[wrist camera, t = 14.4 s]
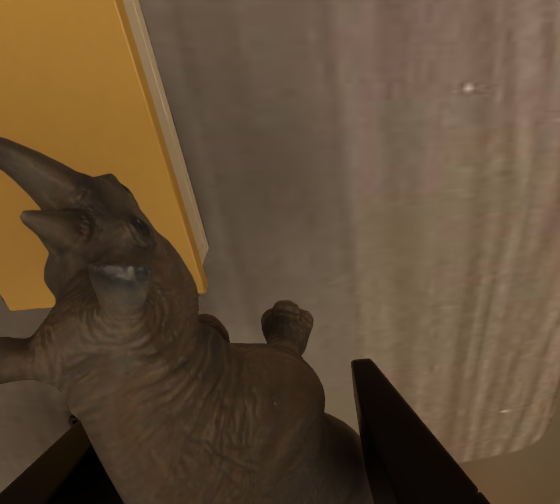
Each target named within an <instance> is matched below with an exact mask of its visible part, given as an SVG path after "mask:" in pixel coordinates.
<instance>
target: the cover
mask: <svg viewBox="0 0 560 504" xmlns="http://www.w3.org/2000/svg"><path fill="white" fill-rule="evenodd" d="M0 137H3V138H6V139H9V140H11V141H14V142H16V143H19V144H21V145H24V146H26V147H28V148H31V149H33V150H35V151H38V152H40V153H42V154H44V155H46V156H48V157H50V158H52V159H54V160H56V161H58V162H60V163H63V164H64V165H66V166H68V167H70V168H71V169H73V170H75V171H77V172H80V173H84V174H87V175H89V176H92V177H96V176H100V175H104V174H109V173H111V174H113V175H114V176H116V178H117V179H118V180H119V182H120V183H121V184H123V185H124V186H126V187H127V188H128V189H129V190H130V191H131V192H132V194H133V196H134V198H135V200H136V201H137V203H138V205H139V207H140V209H141V211H142V212H143V213H144V214H145V215H146V217H147V218H148V220H149V221H150V222H151V224H152V225H153V227H154V228H155V229H156V231H157V232H158V233H160V234H161V235H162V236H163V237H165V238H166V239H167V240H168V241H169V242H170V243H171V244H172V245H173V247H174V248H175V249H176V251H177V252H178V253H179V254H180V256H181V258H182V259H183V261H184V263H185V265H186V266H187V268H188V269H189V271H190V273H191V274H192V276H193V279H194V281H195V283H196V286H197V291H198V294H201V293H205V292H206V290H207V288H208V282H207V279H206V275H205V272H204V269H203V266H202V262H201V259H200V256H199V252H198V249H197V246H196V242H195V239H194V236H193V232H192V229H191V226H190V222H189V219H188V216H187V212H186V209H185V206H184V202H183V199H182V196H181V192H180V189H179V186H178V183H177V179H176V176H175V173H174V169H173V166H172V163H171V159H170V156H169V153H168V149H167V146H166V143H165V139H164V136H163V133H162V129H161V126H160V123H159V119H158V116H157V113H156V109H155V106H154V103H153V99H152V96H151V93H150V90H149V86H148V83H147V80H146V76H145V73H144V70H143V66H142V63H141V60H140V56H139V53H138V50H137V46H136V43H135V40H134V36H133V33H132V30H131V26H130V23H129V20H128V16H127V13H126V10H125V7H124V3H123V0H0ZM26 210H41V209H40V207H39V206H38V205H37V204H36V203H35V202H34V200H33V199H32V198H31V197H30V196H29V195H28V194H27V193H26V192H25V191H24V190H23V189H22V188H21V187H20V186H19V185H18V184H17V183H16V182H15V181H14V180H13V179H12V178H10V177H9V176H8V175H7V174H6V173H5V172H3V171H2V170H0V294H1V296H2V297H3V299H4V301H5V302H6V304H7V306H8V307H9V309H10V310H11V311H17V310H28V309H39V308H49V307H54V305H55V304H56V302H55V297H54V295H53V294H52V293H51V291H50V290H49V288H48V287H47V285H46V283H45V282H44V267H45V264H46V261H47V258H48V255H49V252H48V250H47V249H46V248H45V246H44V245H43V243H42V242H41V240H40V239H39V237H38V236H37V235H36V234H35V233H34V232H33V231H32V230H30V229H29V228H28V227H27V226H25V225H24V224H23V223H22V221H21V219H20V215H21V214H22V212H23V211H26Z"/></svg>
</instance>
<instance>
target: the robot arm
mask: <svg viewBox="0 0 560 504" xmlns="http://www.w3.org/2000/svg"><path fill="white" fill-rule="evenodd" d="M351 368H352V379H353V389H354V397H355V404H356V411H357V418H358V425H359V432H360V439H361V446H362V453H363V459H364V465H365V470H366V474H367V478H368V482H369V486H370V490H371V493H372V497H373V501H374V504H490V503H489V501H488V500H487V499H486V498H485V497H484V495H483V494H482V493H481V492H478V488H477V487H476V486H475V485H474V483H473V482H472V481H471V480H470V479H469V477H468V476H467V475H466V474H465V473H464V471H463V470H462V469H461V468H460V466H459V465H458V464H457V463H456V462H455V460H454V459H453V458H452V457H451V455H450V454H449V453H448V452H447V451H446V449H445V448H444V447H443V446H442V445H441V443H440V442H439V441H438V440H437V439H436V437H435V436H434V435H433V434H432V432H431V431H430V430H429V429H428V428H427V426H426V425H425V424H424V423H423V422H422V420H421V419H420V418H419V417H418V415H417V414H416V413H415V412H414V411H413V409H412V408H411V407H410V406H409V405H408V403H407V402H406V401H405V400H404V399H403V397H402V396H401V395H400V394H399V392H398V391H397V390H396V389H395V388H394V386H393V385H392V384H391V383H390V382H389V380H388V379H387V378H386V377H385V376H384V374H383V373H382V372H381V371H380V369H379V368H378V367H377V366H376V365H375V363H374V362H373V361H372V360H371V359H357V360H353V361H352V362H351ZM68 422H69V424H70V426H71V428H70V429H69V430H68V431H67V432H66V433H65V434H64V435H63V436H62V437H61V438H59V439H58V440H57V441H56V442H55V443H54V444H53V445H52V446H51V447H50V448H49V449H48V450H47V451H45V452H44V453H43V454H42V455H41V456H40V457H39V458H38V459H37V460H36V461H35V462H34V463H33V464H32V465H30V466H29V467H28V468H27V469H26V470H25V471H24V472H23V473H22V474H21V475H20V476H19V477H18V478H16V479H15V480H14V481H13V482H12V483H11V484H10V485H9V486H8V487H7V488H6V489H5V490H4V491H2V492H1V493H0V504H124V502H123V501H122V499H121V497H120V495H119V494H118V492H117V490H116V488H115V487H114V485H113V483H112V481H111V480H110V478H109V476H108V474H107V472H106V471H105V469H104V467H103V465H102V463H101V461H100V459H99V458H98V456H97V454H96V452H95V450H94V448H93V446H92V444H91V442H90V440H89V437H88V435H87V433H86V431H85V429H84V427H83V425H82V423H81V421H80V420H79V419H78V418H77V417H75V416H74V415H73V414H72V415H71V417H70V418H69V421H68Z"/></svg>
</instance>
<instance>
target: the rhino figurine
mask: <svg viewBox="0 0 560 504" xmlns="http://www.w3.org/2000/svg"><path fill="white" fill-rule="evenodd" d="M0 170H2V171H3V172H5V173H6V174H7V175H8V176H9V177H10V178H12V179H13V180H14V181H15V182H16V183H17V184H18V185H19V186H20V187H21V188H22V189H23V190H24V191H25V192H26V193H27V194H28V195H29V196H30V197H31V198H32V199H33V200H34V202H35V203H36V204H37V205H38V206H39V207H40V209H41V210H26V211H23V212H22V214H21V215H20V219H21V221H22V223H23V224H24V225H25V226H27V227H28V228H29V229H30V230H32V231H33V232H34V233H35V234H36V235H37V236H38V237H39V239H40V240H41V242H42V243H43V245H44V246H45V248H46V249H47V250H48V252H49V255H48V258H47V261H46V264H45V267H44V282H45V283H46V285H47V287H48V288H49V290H50V291H51V293H52V294H53V295H54V297H55V302H56V304H55V305H54V307H53V308H52V310H51V312H50V313H49V315H48V316H47V318H46V319H45V320H44V322H43V323H42V324H41V326H40V327H39V328H38V330H37V331H36V332H35V333H34V335H32V336H31V337H29V338H26V339H20V338H10V337H0V384H3V383H8V382H14V381H20V380H37V381H41V382H44V383H47V384H50V385H52V386H54V387H55V388H57V389H58V390H59V391H60V392H61V393H62V394H63V396H64V397H65V400H66V403H67V405H68V408H69V410H70V412H71V413H72V414H73V415H74V416H75V417H77V418H78V419H79V420H80V421H81V423H82V425H83V427H84V429H85V431H86V433H87V435H88V437H89V440H90V442H91V444H92V446H93V448H94V450H95V452H96V454H97V456H98V458H99V459H100V461H101V463H102V465H103V467H104V469H105V471H106V472H107V474H108V476H109V478H110V480H111V481H112V483H113V485H114V487H115V488H116V490H117V492H118V494H119V495H120V497H121V499H122V501H123V502H124V504H374V501H373V497H372V493H371V490H370V486H369V482H368V478H367V474H366V470H365V465H364V459H363V453H362V446H361V439H360V436H359V435H358V434H357V433H356V432H355V431H354V430H353V429H352V428H351V427H350V426H348V425H347V424H346V423H345V422H343V421H341V420H339V419H337V418H335V417H333V416H332V415H330V414H327V413H325V412H324V409H325V395H324V389H323V386H322V384H321V382H320V380H319V378H318V376H317V374H316V373H315V371H314V370H313V369H312V368H311V366H310V365H309V364H308V363H307V362H306V361H305V360H303V358H302V356H301V355H302V354H303V353H304V351H305V349H306V345H307V342H308V339H309V335H310V333H311V330H312V327H313V317H312V315H311V313H309V312H308V311H305V310H302V309H300V308H299V307H298V305H296V304H295V303H293V302H291V301H288V300H283V301H278V302H276V303H275V305H274V307H273V308H271V309H269V310H267V311H266V312H265V313H264V314H263V316H262V318H261V324H262V331H263V334H264V337H265V339H266V341H267V344H245V343H230V340H229V335H228V332H227V330H226V328H225V327H224V326H223V324H222V323H221V322H220V321H219V320H218V319H217V318H216V317H215V316H212V315H209V314H200V315H198V307H199V305H198V291H197V286H196V283H195V281H194V279H193V276H192V274H191V273H190V271H189V269H188V268H187V266H186V265H185V263H184V261H183V259H182V258H181V256H180V254H179V253H178V252H177V251H176V249H175V248H174V247H173V245H172V244H171V243H170V242H169V241H168V240H167V239H166V238H165V237H163V236H162V235H161V234H160V233H158V232H157V231H156V229H155V228H154V227H153V225H152V224H151V222H150V221H149V220H148V218H147V217H146V215H145V214H144V213H143V212H142V211H141V209H140V207H139V205H138V203H137V201H136V200H135V198H134V196H133V194H132V192H131V191H130V190H129V189H128V188H127V187H126V186H124V185H123V184H121V183H120V182H119V180H118V179H117V178H116V176H114V175H113V174H111V173H109V174H104V175H100V176H96V177H92V176H89V175H87V174H84V173H80V172H77V171H75V170H73V169H71V168H70V167H68V166H66V165H64V164H63V163H60V162H58V161H56V160H54V159H52V158H50V157H48V156H46V155H44V154H42V153H40V152H38V151H35V150H33V149H31V148H28V147H26V146H24V145H21V144H19V143H16V142H14V141H11V140H9V139H6V138H3V137H0Z"/></svg>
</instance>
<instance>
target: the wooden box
mask: <svg viewBox="0 0 560 504" xmlns="http://www.w3.org/2000/svg"><path fill="white" fill-rule="evenodd" d="M123 3H124V7H125V10H126V13H127V16H128V20H129V23H130V26H131V30H132V33H133V36H134V40H135V43H136V46H137V50H138V53H139V56H140V60H141V63H142V66H143V70H144V73H145V76H146V80H147V83H148V86H149V90H150V93H151V96H152V99H153V103H154V106H155V109H156V113H157V116H158V119H159V123H160V126H161V129H162V133H163V136H164V139H165V143H166V146H167V149H168V153H169V156H170V159H171V163H172V166H173V169H174V173H175V176H176V179H177V183H178V186H179V189H180V192H181V196H182V199H183V202H184V206H185V209H186V212H187V216H188V219H189V222H190V226H191V229H192V232H193V236H194V239H195V242H196V246H197V249H198V252H199V256H200V259H201V262H202V266H203V263H204V260H205V257H206V254H207V252H208V249H209V246H208V242H207V239H206V235H205V232H204V228H203V225H202V221H201V218H200V214H199V211H198V207H197V204H196V200H195V196H194V193H193V189H192V186H191V182H190V179H189V175H188V172H187V168H186V165H185V161H184V158H183V154H182V151H181V147H180V144H179V140H178V137H177V133H176V130H175V126H174V123H173V119H172V116H171V112H170V109H169V105H168V102H167V98H166V95H165V91H164V88H163V84H162V81H161V77H160V74H159V70H158V67H157V63H156V60H155V56H154V53H153V49H152V46H151V42H150V39H149V35H148V32H147V28H146V25H145V21H144V18H143V14H142V11H141V7H140V4H139V0H123Z"/></svg>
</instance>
